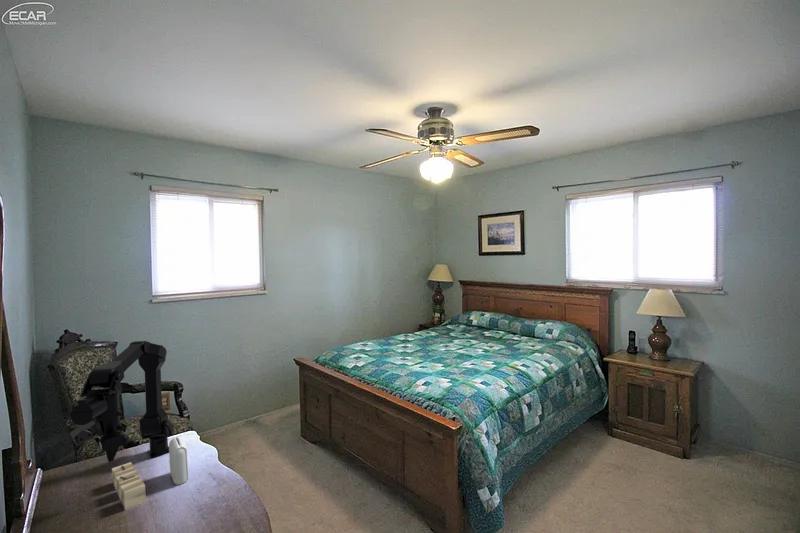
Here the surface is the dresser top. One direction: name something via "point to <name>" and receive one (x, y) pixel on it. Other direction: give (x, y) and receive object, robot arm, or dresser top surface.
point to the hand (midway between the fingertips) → (110, 461)
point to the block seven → (126, 480)
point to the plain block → (133, 494)
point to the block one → (121, 471)
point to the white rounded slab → (178, 460)
